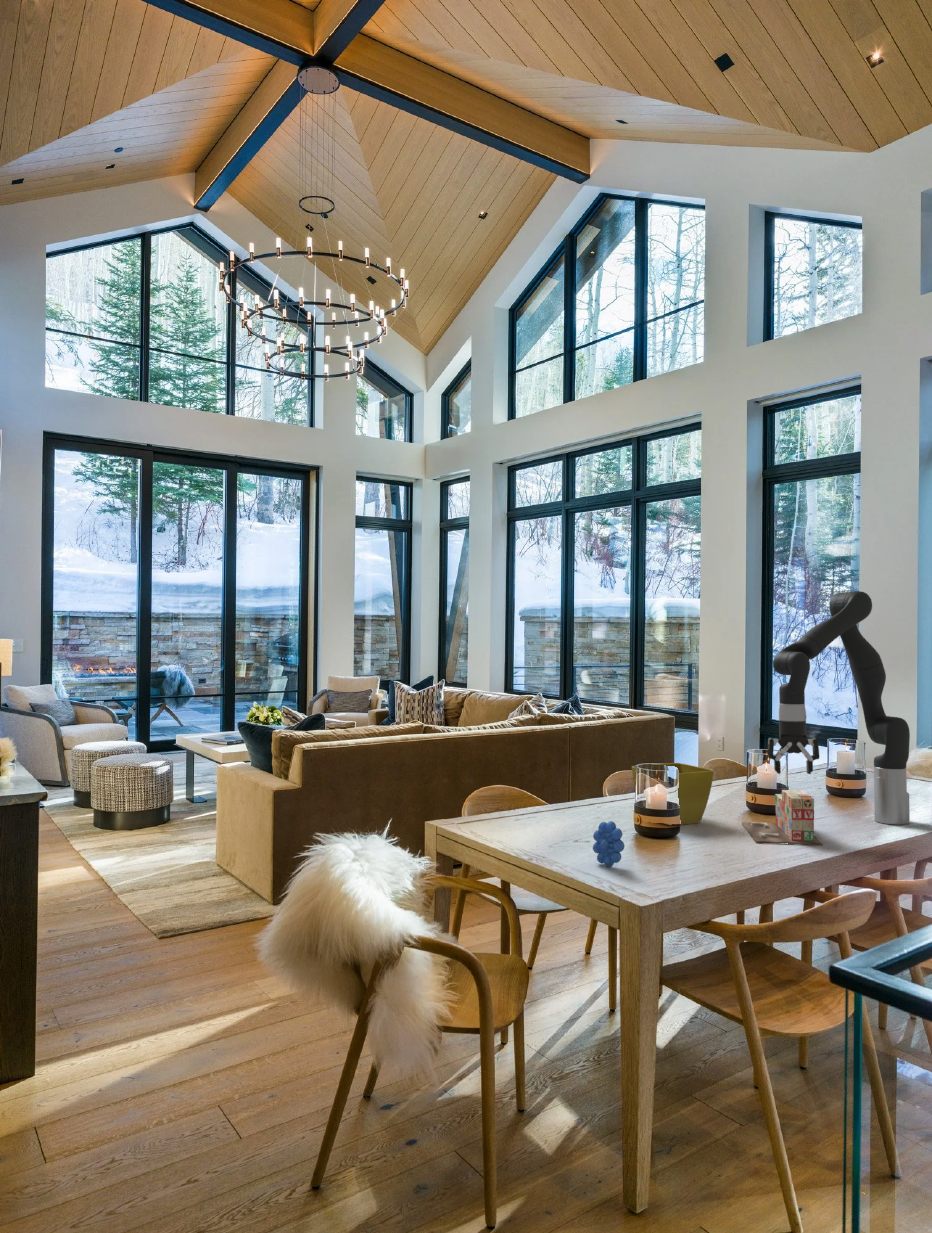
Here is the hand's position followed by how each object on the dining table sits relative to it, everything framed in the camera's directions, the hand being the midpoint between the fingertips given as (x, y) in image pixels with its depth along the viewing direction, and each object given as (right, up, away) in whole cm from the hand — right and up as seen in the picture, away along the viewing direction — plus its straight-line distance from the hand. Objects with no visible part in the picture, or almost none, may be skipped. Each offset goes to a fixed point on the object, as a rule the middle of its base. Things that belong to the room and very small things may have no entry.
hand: (793, 773), depth 246 cm
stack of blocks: (0, -18, 0) cm, 18 cm away
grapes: (-60, -18, -33) cm, 71 cm away
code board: (-4, -18, 0) cm, 19 cm away
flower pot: (-31, -19, +19) cm, 41 cm away
